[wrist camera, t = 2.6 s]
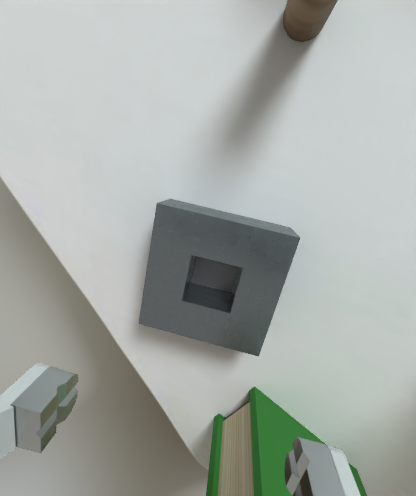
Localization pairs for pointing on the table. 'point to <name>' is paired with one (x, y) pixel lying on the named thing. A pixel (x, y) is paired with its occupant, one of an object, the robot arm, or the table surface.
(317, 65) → the table surface
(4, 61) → the table surface
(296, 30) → the round peg
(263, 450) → the hardback book
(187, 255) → the socket
